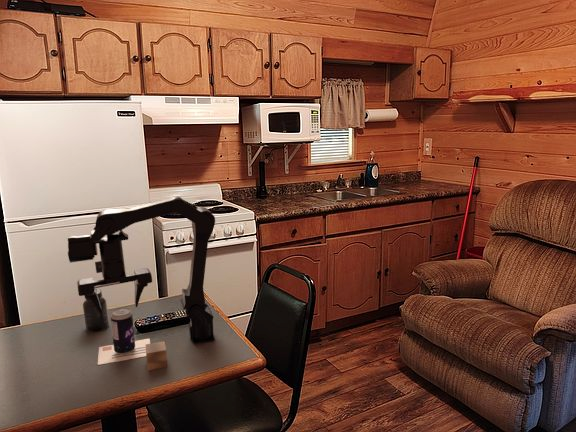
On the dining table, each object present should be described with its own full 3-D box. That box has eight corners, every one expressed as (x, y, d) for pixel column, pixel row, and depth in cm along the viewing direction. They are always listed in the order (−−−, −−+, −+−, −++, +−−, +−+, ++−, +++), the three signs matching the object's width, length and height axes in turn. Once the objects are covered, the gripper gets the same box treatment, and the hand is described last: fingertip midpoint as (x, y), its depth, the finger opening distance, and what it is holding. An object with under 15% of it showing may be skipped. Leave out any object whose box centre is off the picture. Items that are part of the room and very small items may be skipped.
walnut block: (165, 357, 123) (164, 341, 122) (167, 366, 119) (166, 349, 118) (146, 361, 122) (145, 344, 121) (148, 370, 117) (146, 353, 116)
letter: (149, 338, 134) (149, 338, 134) (151, 355, 124) (151, 354, 124) (99, 347, 129) (99, 346, 129) (97, 365, 120) (97, 364, 120)
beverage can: (128, 356, 123) (124, 316, 121) (110, 354, 124) (106, 315, 122) (139, 346, 129) (135, 308, 126) (121, 344, 130) (117, 306, 127)
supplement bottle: (101, 320, 146) (97, 286, 143) (113, 325, 142) (109, 290, 139) (81, 328, 141) (77, 292, 138) (93, 334, 137) (89, 297, 134)
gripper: (143, 243, 131) (148, 293, 135) (73, 254, 123) (81, 306, 127) (149, 254, 121) (155, 307, 125) (74, 266, 113) (82, 322, 117)
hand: (119, 310), depth 124 cm, fingers open, 9 cm apart
